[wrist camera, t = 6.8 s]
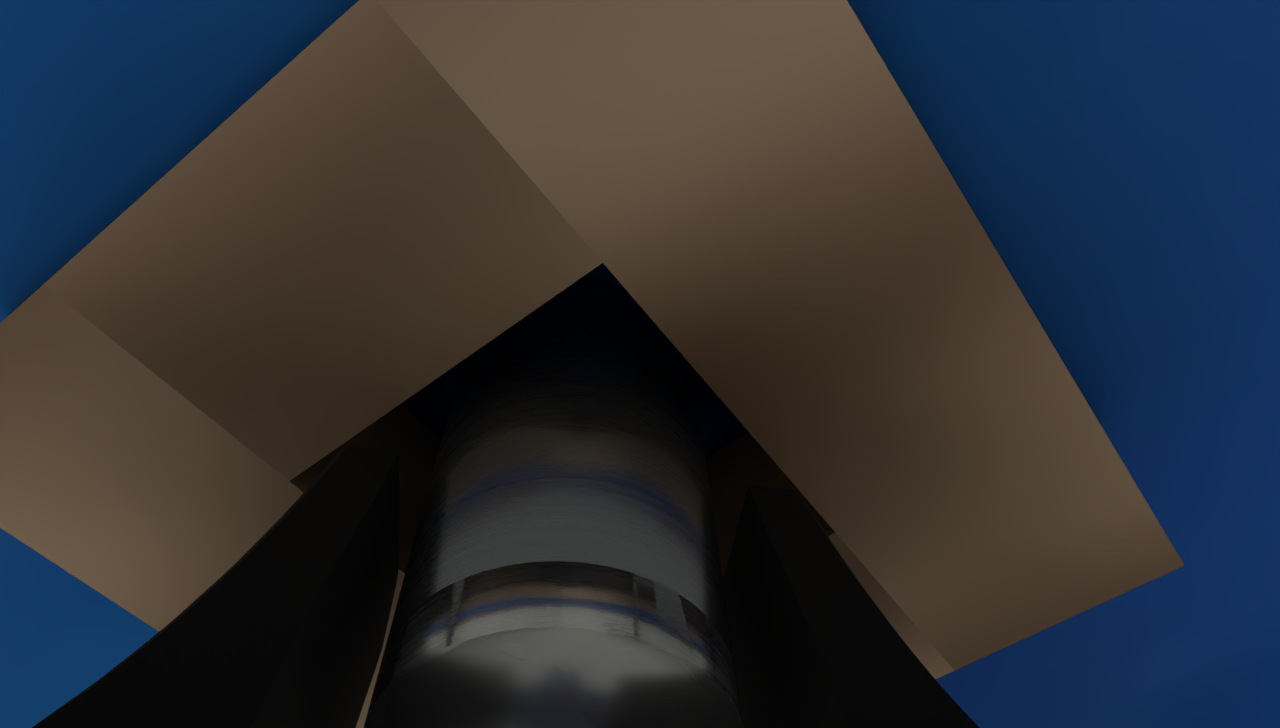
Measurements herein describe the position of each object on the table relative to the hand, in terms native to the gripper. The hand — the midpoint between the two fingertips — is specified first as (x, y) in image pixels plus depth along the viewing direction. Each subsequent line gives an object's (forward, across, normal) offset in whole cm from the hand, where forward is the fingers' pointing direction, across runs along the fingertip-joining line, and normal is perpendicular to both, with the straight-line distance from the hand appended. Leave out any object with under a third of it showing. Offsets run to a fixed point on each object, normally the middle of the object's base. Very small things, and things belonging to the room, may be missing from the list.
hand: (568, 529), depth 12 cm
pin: (+4, 0, 0) cm, 4 cm away
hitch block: (+3, 0, 0) cm, 3 cm away
